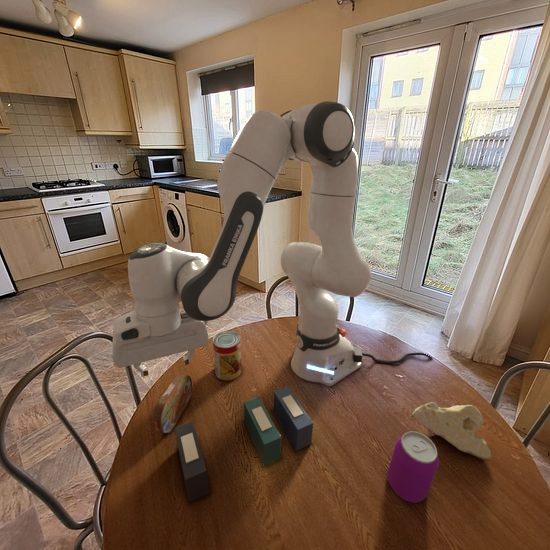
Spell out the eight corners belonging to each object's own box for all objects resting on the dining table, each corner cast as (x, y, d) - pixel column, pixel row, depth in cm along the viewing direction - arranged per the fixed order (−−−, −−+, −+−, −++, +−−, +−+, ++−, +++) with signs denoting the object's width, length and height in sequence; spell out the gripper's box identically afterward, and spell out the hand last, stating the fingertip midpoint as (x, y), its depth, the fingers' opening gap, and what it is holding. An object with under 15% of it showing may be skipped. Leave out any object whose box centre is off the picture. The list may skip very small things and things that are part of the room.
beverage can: (406, 512, 56) (420, 473, 51) (378, 474, 62) (388, 435, 57) (435, 495, 59) (451, 456, 54) (405, 460, 65) (417, 422, 60)
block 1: (196, 441, 68) (193, 420, 65) (209, 492, 58) (206, 469, 55) (178, 448, 66) (174, 426, 63) (188, 502, 57) (184, 479, 54)
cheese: (486, 443, 71) (448, 383, 76) (508, 449, 64) (466, 382, 69) (434, 473, 69) (399, 409, 74) (451, 483, 62) (411, 412, 67)
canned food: (246, 373, 88) (245, 341, 83) (222, 384, 84) (219, 351, 79) (234, 358, 94) (232, 327, 89) (211, 368, 90) (208, 336, 85)
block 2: (259, 416, 74) (259, 395, 71) (280, 458, 65) (281, 436, 62) (244, 422, 73) (243, 401, 70) (264, 466, 63) (264, 444, 60)
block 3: (286, 405, 78) (287, 385, 75) (311, 444, 68) (313, 422, 65) (273, 411, 76) (273, 390, 73) (296, 451, 66) (297, 429, 63)
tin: (165, 441, 68) (160, 415, 64) (153, 438, 68) (147, 413, 65) (194, 392, 81) (191, 368, 78) (184, 390, 82) (180, 367, 78)
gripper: (203, 302, 70) (207, 349, 75) (106, 321, 61) (118, 372, 67) (210, 315, 65) (214, 364, 70) (105, 337, 56) (119, 391, 62)
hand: (166, 368), depth 68 cm, fingers open, 8 cm apart
